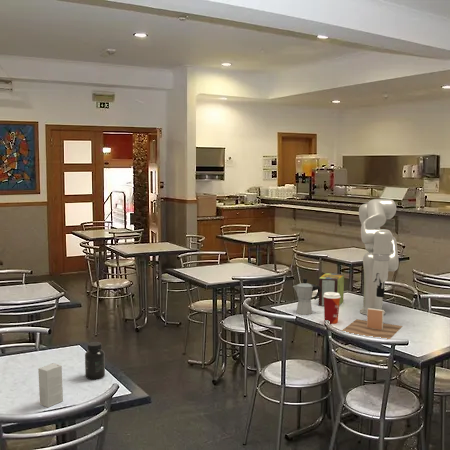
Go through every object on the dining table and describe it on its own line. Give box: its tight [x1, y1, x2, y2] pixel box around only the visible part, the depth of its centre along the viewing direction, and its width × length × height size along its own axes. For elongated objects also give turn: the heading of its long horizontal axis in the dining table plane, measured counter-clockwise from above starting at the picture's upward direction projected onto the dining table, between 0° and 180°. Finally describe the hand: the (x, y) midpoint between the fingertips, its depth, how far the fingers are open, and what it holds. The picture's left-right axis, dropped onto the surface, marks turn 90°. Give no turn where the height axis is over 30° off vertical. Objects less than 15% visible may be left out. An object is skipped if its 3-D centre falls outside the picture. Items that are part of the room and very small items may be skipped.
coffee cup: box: [323, 292, 340, 325], centre depth 269 cm, size 8×8×15 cm
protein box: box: [318, 272, 345, 307], centre depth 308 cm, size 10×15×16 cm
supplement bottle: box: [84, 341, 106, 381], centre depth 201 cm, size 7×7×12 cm
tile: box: [366, 308, 385, 330], centre depth 258 cm, size 2×7×9 cm, turn 59°
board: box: [341, 318, 403, 340], centre depth 258 cm, size 24×22×1 cm
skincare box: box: [37, 362, 64, 408], centre depth 179 cm, size 6×4×12 cm
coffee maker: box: [292, 277, 322, 316], centre depth 289 cm, size 15×9×18 cm, turn 83°
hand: (380, 296), depth 262 cm, fingers closed
